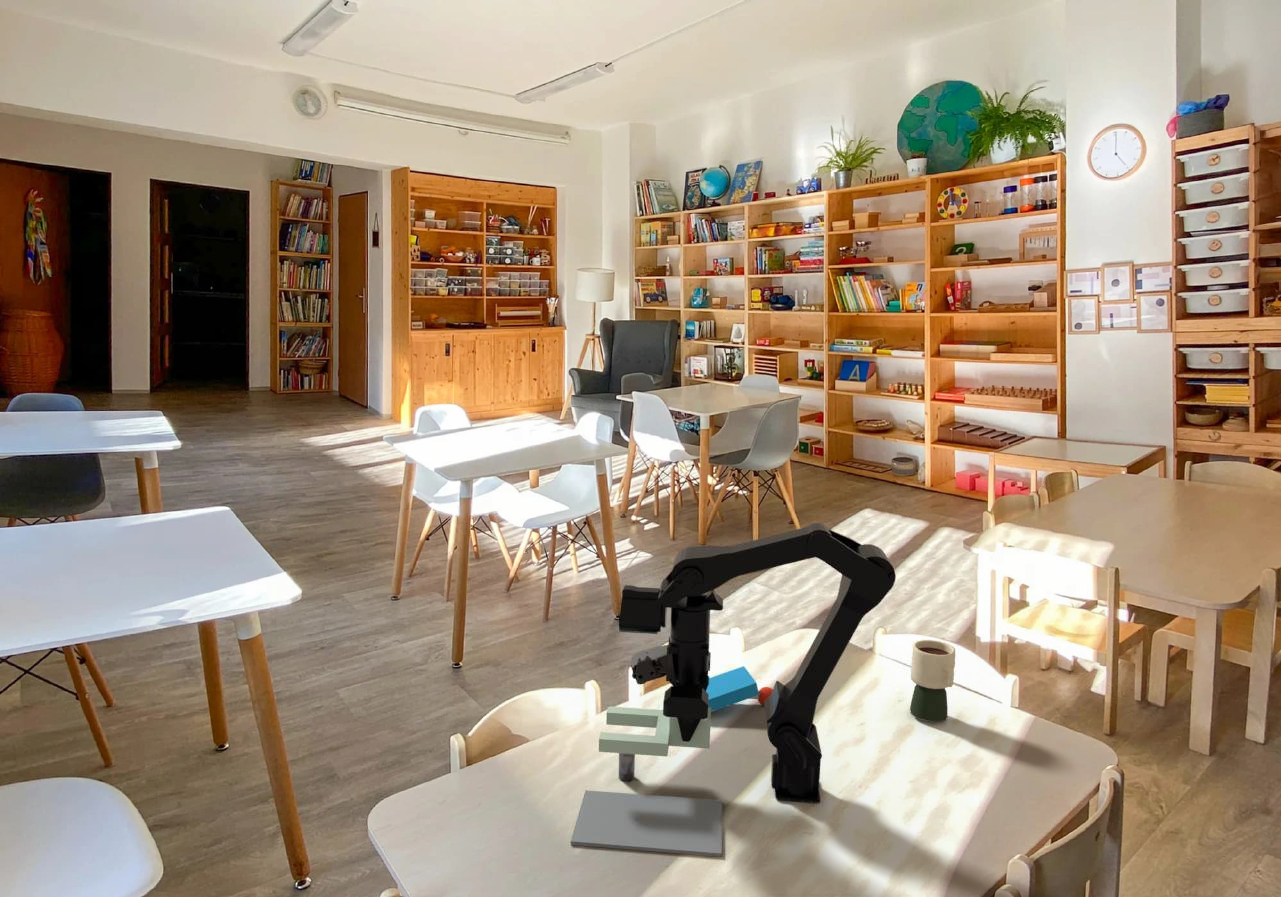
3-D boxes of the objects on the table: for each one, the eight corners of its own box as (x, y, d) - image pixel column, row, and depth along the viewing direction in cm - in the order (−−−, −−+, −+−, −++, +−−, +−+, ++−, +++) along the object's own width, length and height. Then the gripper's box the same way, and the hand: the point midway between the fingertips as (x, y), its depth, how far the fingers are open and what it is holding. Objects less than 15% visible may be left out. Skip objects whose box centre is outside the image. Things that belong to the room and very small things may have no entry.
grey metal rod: (635, 773, 131) (635, 743, 130) (633, 782, 129) (634, 751, 128) (619, 772, 131) (620, 742, 130) (617, 781, 129) (618, 750, 128)
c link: (710, 725, 133) (711, 698, 132) (709, 759, 123) (710, 730, 122) (608, 718, 134) (608, 691, 133) (598, 751, 124) (599, 723, 124)
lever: (689, 745, 149) (784, 710, 152) (679, 709, 147) (775, 676, 150) (679, 725, 156) (770, 693, 158) (670, 691, 154) (762, 659, 157)
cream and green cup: (965, 729, 147) (972, 658, 144) (929, 734, 145) (935, 662, 142) (927, 700, 157) (932, 633, 155) (893, 705, 155) (898, 637, 153)
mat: (722, 803, 124) (722, 800, 124) (721, 856, 112) (721, 853, 112) (585, 793, 126) (585, 790, 126) (570, 844, 114) (570, 841, 114)
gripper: (641, 609, 135) (639, 701, 138) (627, 658, 117) (625, 763, 119) (712, 612, 134) (708, 705, 137) (709, 663, 116) (705, 769, 118)
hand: (686, 733), depth 128 cm, fingers closed on c link, 4 cm apart
